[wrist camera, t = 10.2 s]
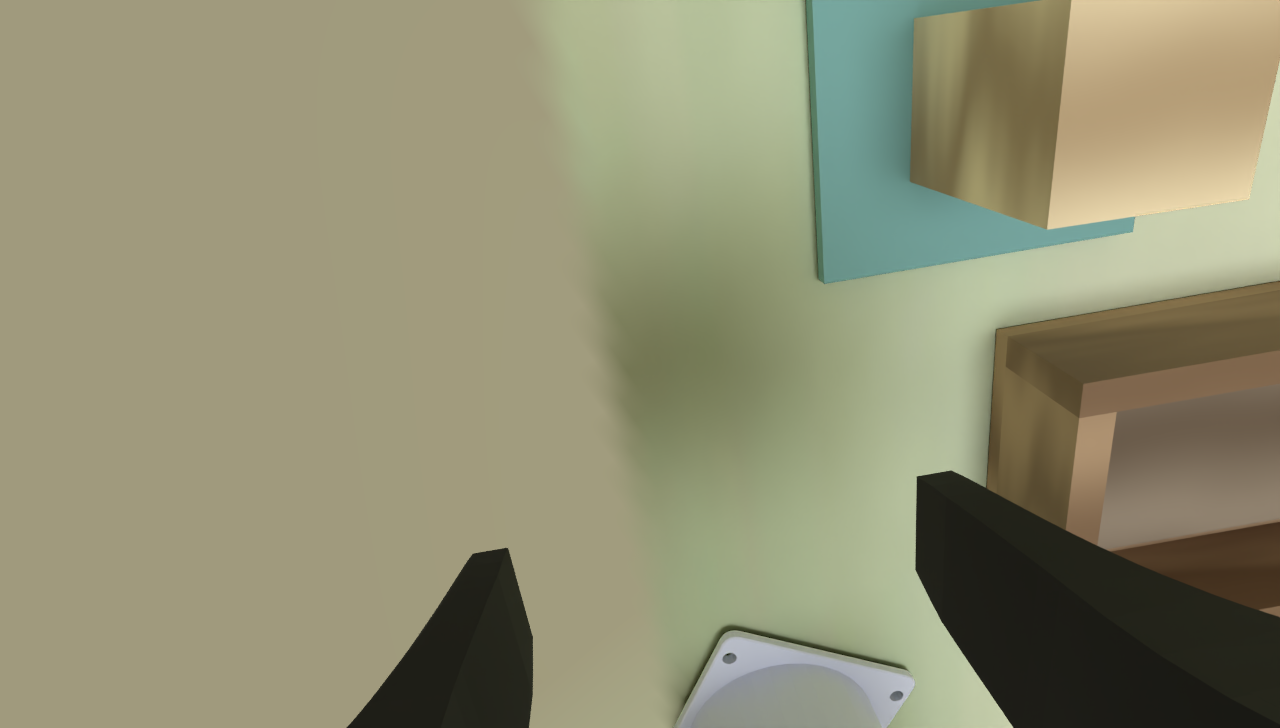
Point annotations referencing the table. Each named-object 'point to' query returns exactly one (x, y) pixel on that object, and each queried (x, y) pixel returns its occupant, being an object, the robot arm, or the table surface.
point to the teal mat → (892, 152)
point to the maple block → (1093, 105)
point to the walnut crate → (1152, 435)
